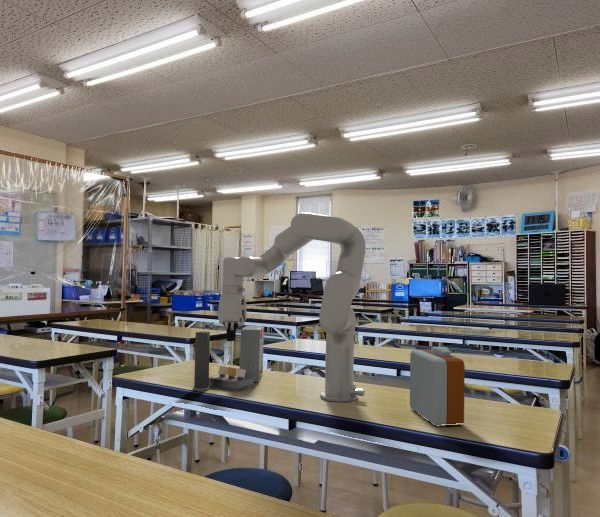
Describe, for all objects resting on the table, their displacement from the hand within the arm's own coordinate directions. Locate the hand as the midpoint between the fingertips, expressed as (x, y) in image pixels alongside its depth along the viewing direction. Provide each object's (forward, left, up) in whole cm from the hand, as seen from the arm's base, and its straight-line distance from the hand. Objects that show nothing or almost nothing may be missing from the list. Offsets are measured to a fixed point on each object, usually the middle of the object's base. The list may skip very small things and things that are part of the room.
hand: (230, 340), depth 170 cm
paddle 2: (0, 0, -14) cm, 14 cm away
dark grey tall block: (+6, +9, -17) cm, 20 cm away
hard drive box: (+1, -15, -17) cm, 23 cm away
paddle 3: (+4, 0, -14) cm, 14 cm away
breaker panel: (0, 0, -17) cm, 17 cm away
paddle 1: (-4, 0, -14) cm, 14 cm away
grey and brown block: (-73, -2, -17) cm, 75 cm away
